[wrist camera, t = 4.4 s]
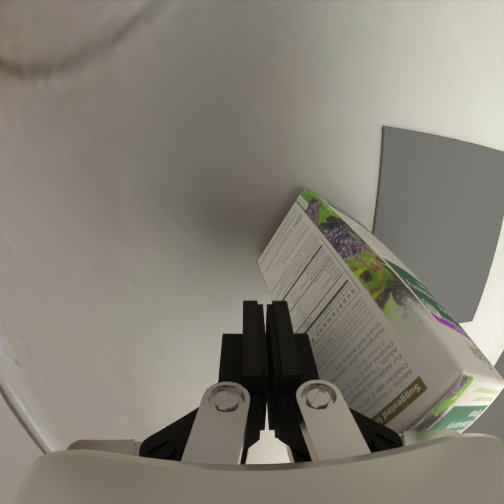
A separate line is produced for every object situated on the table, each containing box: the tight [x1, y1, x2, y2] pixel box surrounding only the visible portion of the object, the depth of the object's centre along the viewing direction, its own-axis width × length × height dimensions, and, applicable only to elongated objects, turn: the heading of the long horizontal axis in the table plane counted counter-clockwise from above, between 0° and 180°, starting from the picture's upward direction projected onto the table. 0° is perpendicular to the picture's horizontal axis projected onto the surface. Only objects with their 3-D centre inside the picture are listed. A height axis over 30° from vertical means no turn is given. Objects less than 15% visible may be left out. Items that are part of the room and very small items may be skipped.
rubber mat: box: [373, 126, 504, 323], centre depth 21 cm, size 16×13×1 cm
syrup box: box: [258, 189, 504, 434], centre depth 14 cm, size 6×6×14 cm
